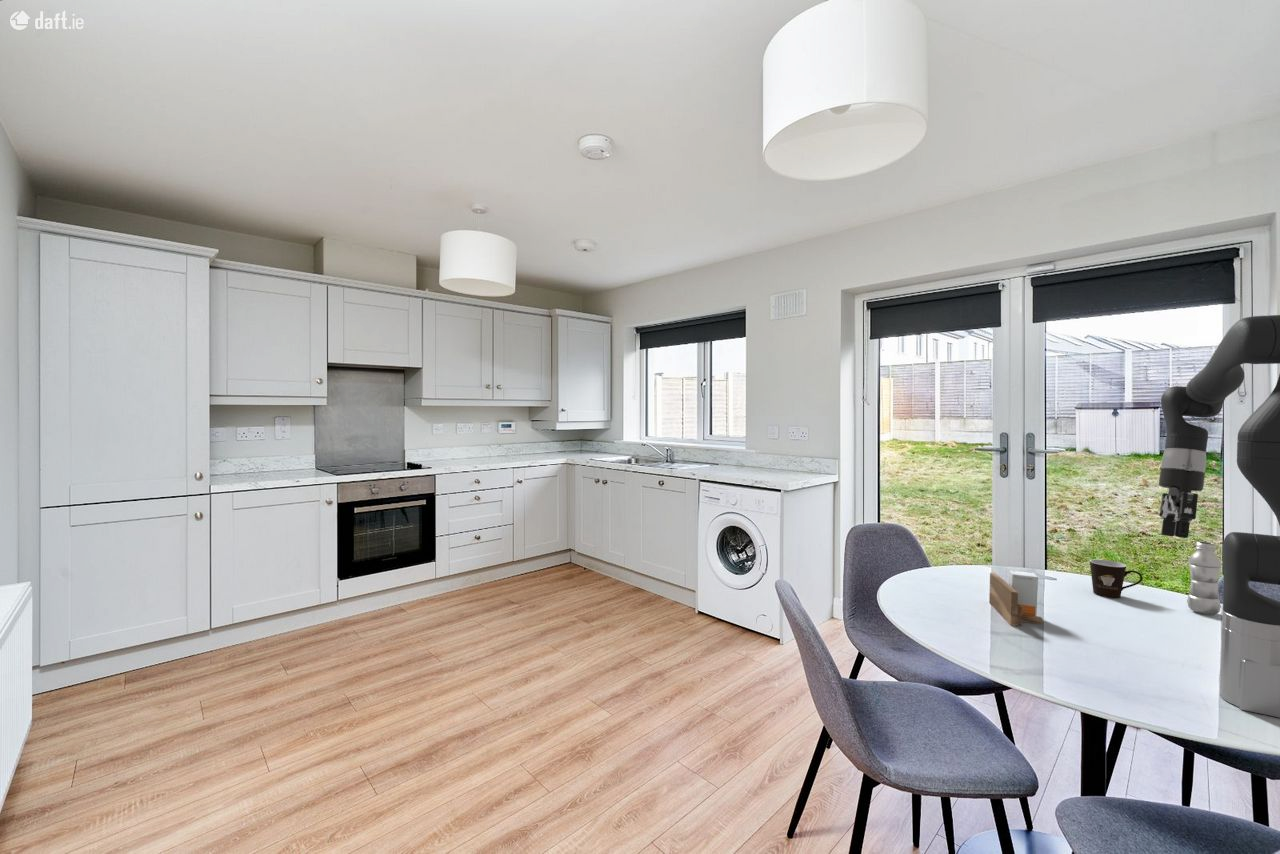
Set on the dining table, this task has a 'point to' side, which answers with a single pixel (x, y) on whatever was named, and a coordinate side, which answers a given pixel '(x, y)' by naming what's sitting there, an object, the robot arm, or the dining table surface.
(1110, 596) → the coffee mug
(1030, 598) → the skincare box
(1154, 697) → the dining table surface
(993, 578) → the wooden stand
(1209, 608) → the plastic bottle
